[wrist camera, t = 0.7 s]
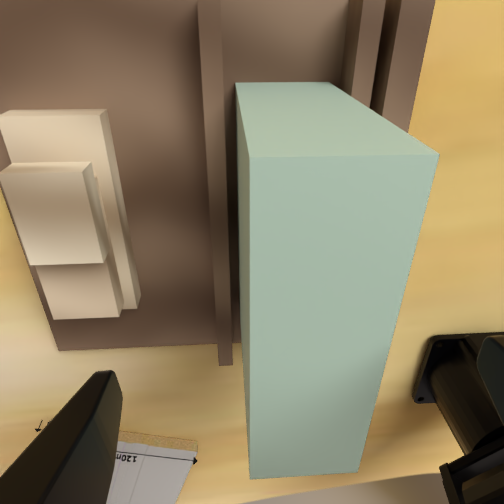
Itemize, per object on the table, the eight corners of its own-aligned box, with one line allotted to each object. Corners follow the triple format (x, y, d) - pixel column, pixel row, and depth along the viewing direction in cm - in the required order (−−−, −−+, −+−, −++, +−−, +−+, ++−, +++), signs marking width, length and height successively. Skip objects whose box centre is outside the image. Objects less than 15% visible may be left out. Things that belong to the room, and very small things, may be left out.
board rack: (347, 328, 25) (360, 361, 23) (63, 341, 24) (46, 377, 22) (404, -1, 16) (435, -4, 14) (-55, -3, 15) (-107, -6, 13)
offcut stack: (141, 294, 22) (128, 340, 19) (68, 297, 22) (42, 344, 19) (106, 109, 17) (81, 130, 14) (10, 110, 16) (-39, 132, 13)
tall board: (307, 302, 23) (357, 472, 14) (239, 304, 23) (249, 479, 14) (328, 81, 17) (439, 154, 8) (235, 82, 16) (249, 157, 8)
